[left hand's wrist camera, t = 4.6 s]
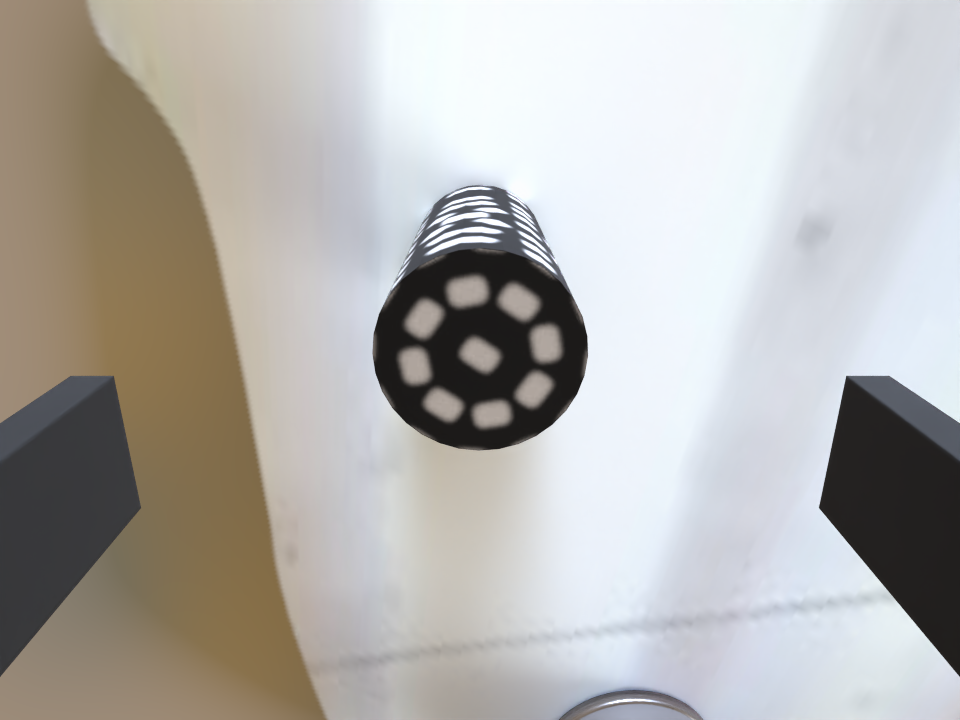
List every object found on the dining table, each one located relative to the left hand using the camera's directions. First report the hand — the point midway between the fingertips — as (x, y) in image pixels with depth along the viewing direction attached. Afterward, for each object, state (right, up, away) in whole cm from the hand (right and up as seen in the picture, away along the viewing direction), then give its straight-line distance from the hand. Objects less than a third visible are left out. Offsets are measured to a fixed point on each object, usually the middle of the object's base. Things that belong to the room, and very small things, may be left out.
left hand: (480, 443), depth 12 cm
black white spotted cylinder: (0, +5, +23) cm, 24 cm away
